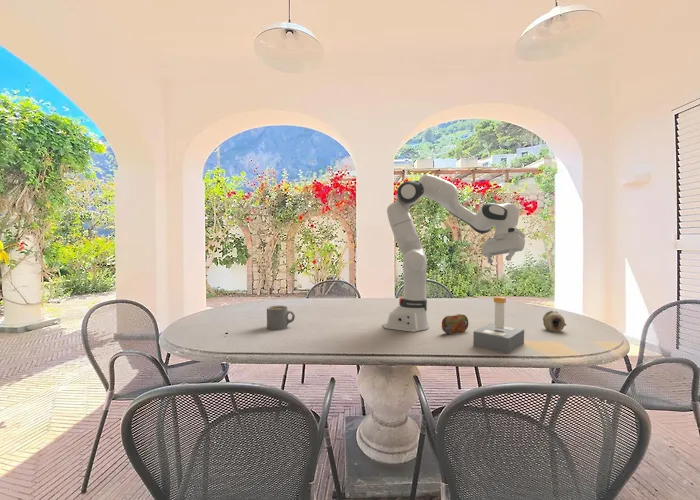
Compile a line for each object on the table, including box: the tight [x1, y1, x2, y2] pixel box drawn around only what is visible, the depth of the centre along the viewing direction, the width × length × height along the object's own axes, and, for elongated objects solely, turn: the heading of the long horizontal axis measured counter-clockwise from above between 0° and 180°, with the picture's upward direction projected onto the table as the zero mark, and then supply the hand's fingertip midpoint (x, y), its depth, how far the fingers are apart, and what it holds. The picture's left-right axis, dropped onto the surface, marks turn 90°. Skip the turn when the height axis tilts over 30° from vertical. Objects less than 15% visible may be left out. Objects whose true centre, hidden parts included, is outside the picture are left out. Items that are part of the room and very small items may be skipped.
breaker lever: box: [493, 296, 507, 330], centre depth 142 cm, size 2×4×13 cm, turn 46°
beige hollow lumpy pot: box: [542, 310, 567, 333], centre depth 164 cm, size 9×8×10 cm
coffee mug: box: [266, 305, 296, 331], centre depth 167 cm, size 13×10×10 cm
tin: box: [441, 313, 469, 335], centre depth 160 cm, size 15×3×8 cm, turn 118°
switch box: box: [472, 323, 525, 354], centre depth 142 cm, size 18×14×6 cm
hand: (498, 261), depth 152 cm, fingers open, 8 cm apart
